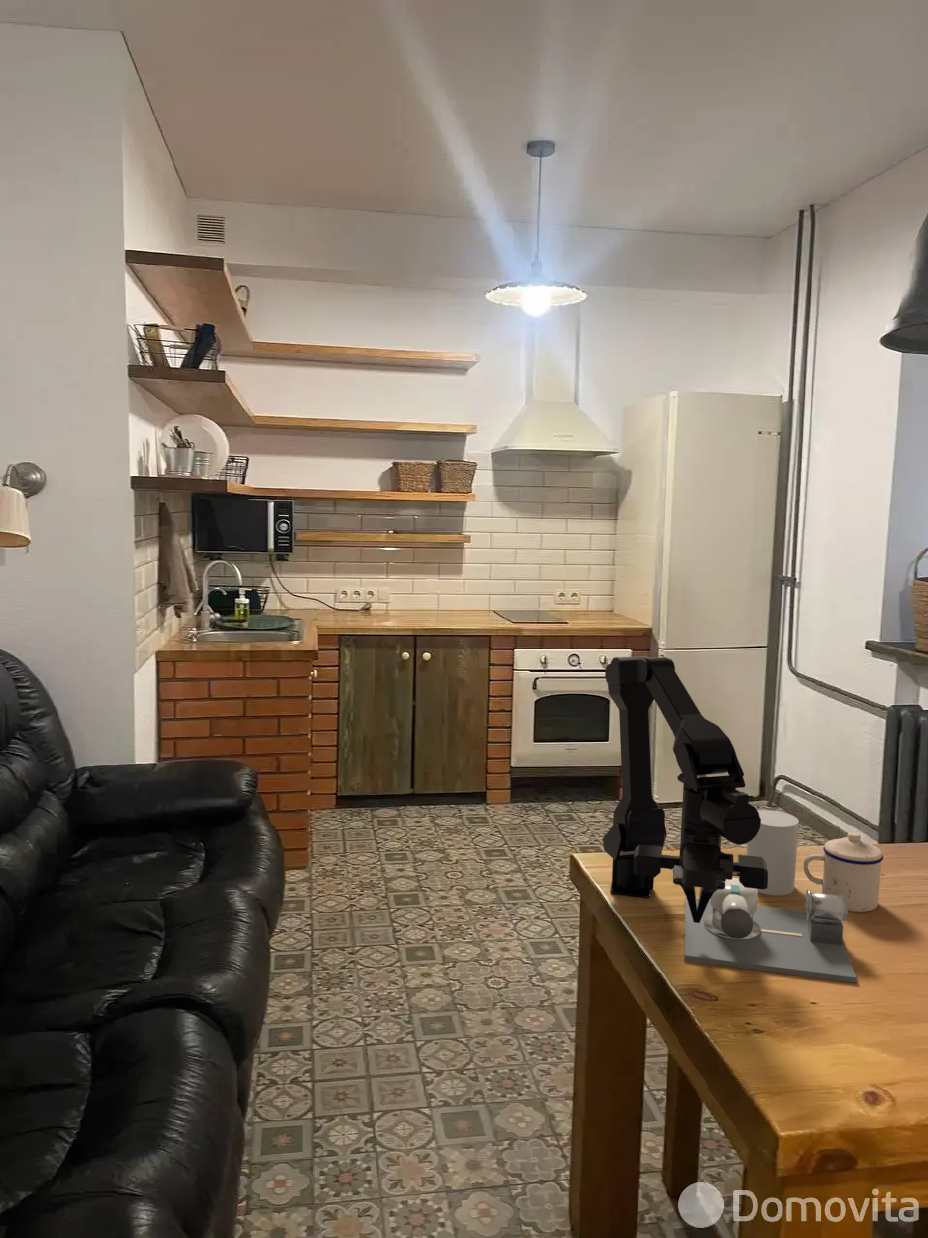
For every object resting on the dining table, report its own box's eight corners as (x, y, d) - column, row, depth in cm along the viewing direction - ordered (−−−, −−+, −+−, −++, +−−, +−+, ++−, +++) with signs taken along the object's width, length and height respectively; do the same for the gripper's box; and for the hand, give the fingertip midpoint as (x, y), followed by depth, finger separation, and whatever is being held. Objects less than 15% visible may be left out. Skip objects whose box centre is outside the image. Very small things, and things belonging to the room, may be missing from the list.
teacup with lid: (876, 894, 156) (881, 828, 154) (882, 917, 147) (887, 847, 146) (800, 884, 159) (805, 819, 158) (802, 906, 151) (807, 837, 149)
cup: (787, 877, 162) (791, 811, 161) (799, 896, 154) (804, 827, 153) (740, 874, 163) (744, 809, 162) (749, 894, 155) (753, 825, 154)
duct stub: (704, 936, 138) (705, 916, 138) (703, 912, 146) (704, 893, 146) (762, 943, 136) (764, 923, 136) (758, 918, 144) (760, 899, 144)
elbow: (709, 898, 145) (711, 871, 144) (754, 903, 143) (756, 876, 143) (711, 935, 132) (713, 906, 132) (761, 942, 131) (762, 912, 130)
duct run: (806, 943, 136) (810, 896, 135) (803, 929, 141) (806, 884, 140) (846, 947, 135) (849, 901, 134) (841, 934, 139) (844, 888, 138)
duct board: (684, 960, 132) (684, 954, 132) (685, 902, 151) (685, 896, 151) (856, 983, 127) (856, 976, 127) (834, 919, 146) (834, 914, 146)
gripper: (633, 832, 128) (628, 938, 130) (774, 846, 123) (767, 956, 125) (637, 806, 139) (633, 905, 141) (767, 818, 134) (761, 920, 136)
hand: (696, 921), depth 135 cm, fingers closed
